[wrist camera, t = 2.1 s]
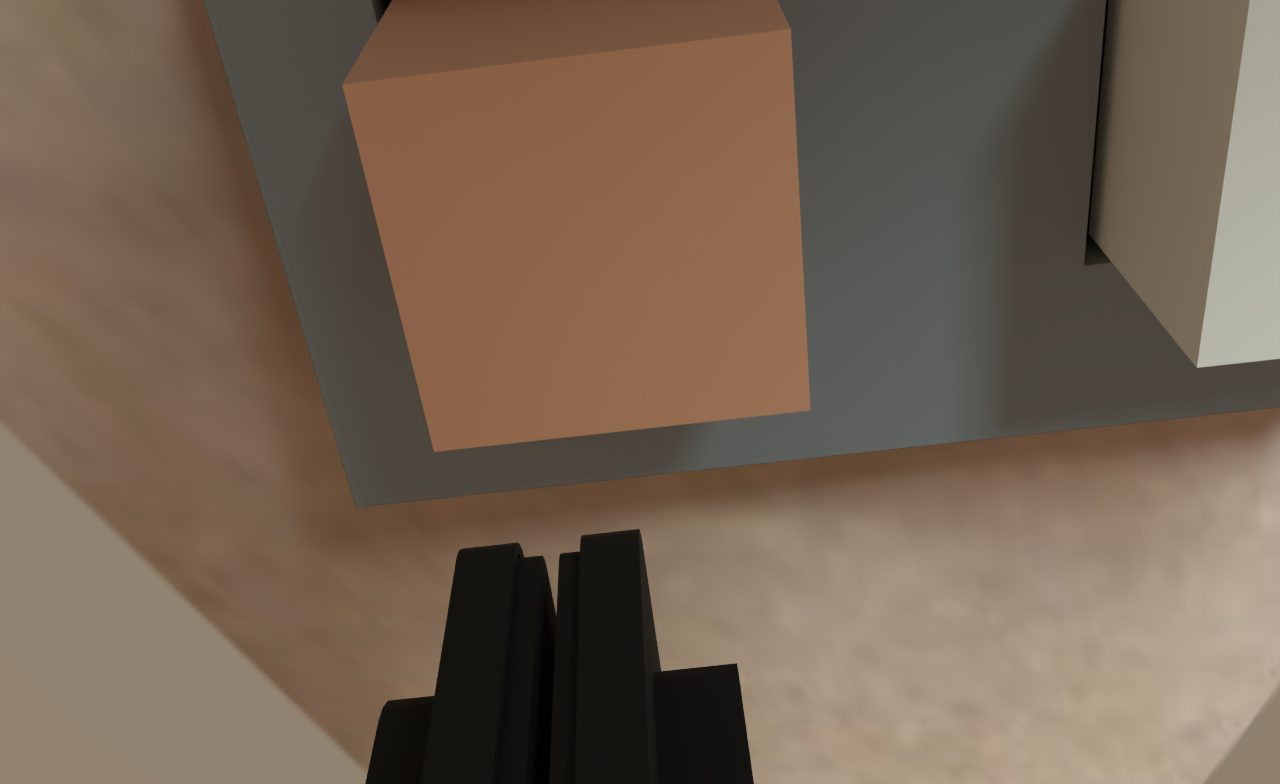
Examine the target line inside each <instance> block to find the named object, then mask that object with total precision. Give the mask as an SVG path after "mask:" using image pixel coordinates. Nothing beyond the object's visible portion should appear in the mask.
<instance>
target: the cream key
mask: <svg viewBox="0 0 1280 784" xmlns="http://www.w3.org/2000/svg"><path fill="white" fill-rule="evenodd" d="M1089 235H1090V236H1091V237H1092V238H1093V240H1094V241H1095V242H1096V243H1097V244H1098V246H1099V247H1100V248H1101V249H1102V251H1103V252H1104V253H1105V254H1106V256H1107V257H1108V258H1109V259H1110V261H1111V262H1112V263H1113V264H1114V266H1115V267H1116V268H1117V269H1118V271H1119V272H1120V273H1121V274H1122V276H1123V277H1124V278H1125V279H1126V281H1127V282H1128V283H1129V284H1130V286H1131V287H1132V288H1133V289H1134V290H1135V292H1136V293H1137V294H1138V295H1139V297H1140V298H1141V299H1142V300H1143V302H1144V303H1145V304H1146V305H1147V307H1148V308H1149V309H1150V310H1151V312H1152V313H1153V314H1154V315H1155V317H1156V318H1157V319H1158V320H1159V322H1160V323H1161V324H1162V325H1163V327H1164V328H1165V329H1166V330H1167V332H1168V333H1169V334H1170V335H1171V336H1172V338H1173V339H1174V340H1175V341H1176V343H1177V344H1178V345H1179V346H1180V348H1181V349H1182V350H1183V351H1184V353H1185V354H1186V355H1187V356H1188V358H1189V359H1190V360H1191V361H1192V363H1193V364H1194V365H1195V366H1196V368H1200V367H1209V366H1218V365H1228V364H1237V363H1246V362H1255V361H1264V360H1273V359H1280V0H1108V12H1107V24H1106V36H1105V48H1104V60H1103V71H1102V83H1101V95H1100V107H1099V119H1098V131H1097V143H1096V154H1095V166H1094V178H1093V190H1092V202H1091V214H1090V226H1089Z"/></svg>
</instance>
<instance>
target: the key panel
mask: <svg viewBox="0 0 1280 784" xmlns="http://www.w3.org/2000/svg"><path fill="white" fill-rule="evenodd" d="M391 1H392V0H204V3H205V6H206V10H207V13H208V16H209V20H210V23H211V26H212V30H213V33H214V36H215V40H216V43H217V46H218V50H219V53H220V56H221V60H222V63H223V66H224V70H225V73H226V76H227V80H228V83H229V86H230V90H231V93H232V96H233V100H234V103H235V106H236V110H237V113H238V116H239V120H240V123H241V126H242V130H243V133H244V136H245V140H246V143H247V146H248V150H249V153H250V156H251V160H252V163H253V166H254V170H255V173H256V176H257V180H258V183H259V186H260V190H261V193H262V196H263V200H264V203H265V206H266V210H267V213H268V216H269V220H270V223H271V226H272V230H273V233H274V236H275V240H276V243H277V246H278V250H279V253H280V256H281V260H282V263H283V266H284V270H285V273H286V276H287V280H288V283H289V286H290V290H291V293H292V296H293V300H294V303H295V306H296V310H297V313H298V316H299V320H300V323H301V326H302V330H303V333H304V336H305V340H306V343H307V346H308V350H309V353H310V356H311V360H312V363H313V366H314V370H315V373H316V376H317V379H318V383H319V386H320V389H321V393H322V396H323V399H324V403H325V406H326V409H327V413H328V416H329V419H330V423H331V426H332V429H333V433H334V436H335V439H336V443H337V446H338V449H339V453H340V456H341V459H342V463H343V466H344V469H345V473H346V476H347V479H348V483H349V486H350V489H351V493H352V496H353V499H354V503H355V506H356V507H365V506H374V505H383V504H392V503H402V502H411V501H420V500H429V499H438V498H448V497H457V496H466V495H475V494H485V493H494V492H503V491H512V490H521V489H531V488H540V487H549V486H558V485H567V484H577V483H586V482H595V481H604V480H613V479H623V478H632V477H641V476H650V475H660V474H669V473H678V472H687V471H696V470H706V469H715V468H724V467H733V466H742V465H752V464H761V463H770V462H779V461H789V460H798V459H807V458H816V457H825V456H835V455H844V454H853V453H862V452H871V451H881V450H890V449H899V448H908V447H917V446H927V445H936V444H945V443H954V442H964V441H973V440H982V439H991V438H1000V437H1010V436H1019V435H1028V434H1037V433H1046V432H1056V431H1065V430H1074V429H1083V428H1092V427H1102V426H1111V425H1120V424H1129V423H1139V422H1148V421H1157V420H1166V419H1175V418H1185V417H1194V416H1203V415H1212V414H1221V413H1231V412H1240V411H1249V410H1258V409H1268V408H1277V407H1280V359H1273V360H1264V361H1255V362H1246V363H1237V364H1228V365H1218V366H1209V367H1200V368H1196V366H1195V365H1194V364H1193V363H1192V361H1191V360H1190V359H1189V358H1188V356H1187V355H1186V354H1185V353H1184V351H1183V350H1182V349H1181V348H1180V346H1179V345H1178V344H1177V343H1176V341H1175V340H1174V339H1173V338H1172V336H1171V335H1170V334H1169V333H1168V332H1167V330H1166V329H1165V328H1164V327H1163V325H1162V324H1161V323H1160V322H1159V320H1158V319H1157V318H1156V317H1155V315H1154V314H1153V313H1152V312H1151V310H1150V309H1149V308H1148V307H1147V305H1146V304H1145V303H1144V302H1143V300H1142V299H1141V298H1140V297H1139V295H1138V294H1137V293H1136V292H1135V290H1134V289H1133V288H1132V287H1131V286H1130V284H1129V283H1128V282H1127V281H1126V279H1125V278H1124V277H1123V276H1122V274H1121V273H1120V272H1119V271H1118V269H1117V268H1116V267H1115V266H1114V264H1113V263H1112V262H1111V261H1110V259H1109V258H1108V257H1107V256H1106V254H1105V253H1104V252H1103V251H1102V249H1101V248H1100V247H1099V246H1098V244H1097V243H1096V242H1095V241H1094V240H1093V238H1092V237H1091V236H1090V235H1089V226H1090V214H1091V202H1092V190H1093V178H1094V166H1095V154H1096V143H1097V131H1098V119H1099V107H1100V95H1101V83H1102V71H1103V60H1104V48H1105V36H1106V24H1107V12H1108V0H778V3H779V5H780V7H781V9H782V11H783V13H784V15H785V18H786V20H787V22H788V24H789V26H790V28H791V41H792V60H793V79H794V99H795V118H796V138H797V157H798V177H799V196H800V216H801V235H802V255H803V274H804V294H805V313H806V333H807V352H808V372H809V391H810V411H801V412H792V413H783V414H774V415H765V416H756V417H747V418H737V419H728V420H719V421H710V422H701V423H692V424H683V425H674V426H665V427H656V428H647V429H638V430H629V431H619V432H610V433H601V434H592V435H583V436H574V437H565V438H556V439H547V440H538V441H529V442H520V443H511V444H502V445H492V446H483V447H474V448H465V449H456V450H447V451H438V452H434V449H433V445H432V441H431V437H430V433H429V429H428V425H427V421H426V417H425V413H424V409H423V405H422V401H421V397H420V393H419V389H418V385H417V381H416V377H415V373H414V369H413V365H412V361H411V357H410V353H409V349H408V345H407V341H406V337H405V333H404V329H403V325H402V321H401V317H400V313H399V309H398V305H397V301H396V297H395V293H394V289H393V285H392V281H391V277H390V273H389V269H388V266H387V262H386V258H385V254H384V250H383V246H382V242H381V238H380V234H379V230H378V226H377V222H376V218H375V214H374V210H373V206H372V202H371V198H370V194H369V190H368V186H367V182H366V178H365V174H364V170H363V166H362V162H361V158H360V154H359V150H358V146H357V142H356V138H355V134H354V130H353V126H352V122H351V118H350V114H349V110H348V106H347V102H346V98H345V94H344V90H343V86H342V84H343V82H344V81H345V79H346V77H347V76H348V74H349V72H350V70H351V69H352V67H353V65H354V64H355V62H356V60H357V59H358V57H359V55H360V53H361V52H362V50H363V48H364V47H365V45H366V43H367V42H368V40H369V38H370V36H371V35H372V33H373V31H374V30H375V28H376V26H377V25H378V23H379V21H380V20H381V18H382V16H383V14H384V13H385V11H386V9H387V8H388V6H389V4H390V3H391Z"/></svg>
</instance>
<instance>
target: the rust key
mask: <svg viewBox="0 0 1280 784" xmlns="http://www.w3.org/2000/svg"><path fill="white" fill-rule="evenodd" d="M342 86H343V90H344V94H345V98H346V102H347V106H348V110H349V114H350V118H351V122H352V126H353V130H354V134H355V138H356V142H357V146H358V150H359V154H360V158H361V162H362V166H363V170H364V174H365V178H366V182H367V186H368V190H369V194H370V198H371V202H372V206H373V210H374V214H375V218H376V222H377V226H378V230H379V234H380V238H381V242H382V246H383V250H384V254H385V258H386V262H387V266H388V269H389V273H390V277H391V281H392V285H393V289H394V293H395V297H396V301H397V305H398V309H399V313H400V317H401V321H402V325H403V329H404V333H405V337H406V341H407V345H408V349H409V353H410V357H411V361H412V365H413V369H414V373H415V377H416V381H417V385H418V389H419V393H420V397H421V401H422V405H423V409H424V413H425V417H426V421H427V425H428V429H429V433H430V437H431V441H432V445H433V449H434V452H438V451H447V450H456V449H465V448H474V447H483V446H492V445H502V444H511V443H520V442H529V441H538V440H547V439H556V438H565V437H574V436H583V435H592V434H601V433H610V432H619V431H629V430H638V429H647V428H656V427H665V426H674V425H683V424H692V423H701V422H710V421H719V420H728V419H737V418H747V417H756V416H765V415H774V414H783V413H792V412H801V411H810V391H809V372H808V352H807V333H806V313H805V294H804V274H803V255H802V235H801V216H800V196H799V177H798V157H797V138H796V118H795V99H794V79H793V60H792V41H791V28H790V26H789V24H788V22H787V20H786V18H785V15H784V13H783V11H782V9H781V7H780V5H779V3H778V0H392V1H391V3H390V4H389V6H388V8H387V9H386V11H385V13H384V14H383V16H382V18H381V20H380V21H379V23H378V25H377V26H376V28H375V30H374V31H373V33H372V35H371V36H370V38H369V40H368V42H367V43H366V45H365V47H364V48H363V50H362V52H361V53H360V55H359V57H358V59H357V60H356V62H355V64H354V65H353V67H352V69H351V70H350V72H349V74H348V76H347V77H346V79H345V81H344V82H343V84H342Z"/></svg>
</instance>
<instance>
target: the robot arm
mask: <svg viewBox="0 0 1280 784" xmlns="http://www.w3.org/2000/svg"><path fill="white" fill-rule="evenodd" d="M366 784H754V782H753V775H752V768H751V761H750V753H749V746H748V739H747V732H746V724H745V717H744V710H743V703H742V695H741V688H740V681H739V674H738V668H737V663H736V664H727V665H718V666H708V667H699V668H690V669H680V670H671V671H662V672H661V667H660V660H659V653H658V647H657V640H656V633H655V626H654V619H653V612H652V606H651V599H650V592H649V585H648V578H647V572H646V565H645V558H644V551H643V544H642V538H641V533H640V530H639V529H636V530H627V531H618V532H609V533H600V534H591V535H582V537H581V543H580V552H571V553H562V554H560V558H559V575H558V597H557V617H556V612H555V607H554V602H553V597H552V592H551V587H550V582H549V577H548V572H547V567H546V563H545V560H544V557H543V556H535V557H526V558H524V555H523V551H522V548H521V546H520V544H519V543H510V544H501V545H493V546H484V547H475V548H466V549H460V551H459V552H458V555H457V559H456V565H455V571H454V578H453V584H452V590H451V596H450V603H449V609H448V615H447V621H446V628H445V634H444V640H443V646H442V653H441V659H440V665H439V671H438V677H437V684H436V690H435V696H429V697H419V698H410V699H401V700H391V701H387V703H386V704H385V706H384V707H383V709H382V712H381V715H380V719H379V722H378V726H377V731H376V736H375V741H374V746H373V750H372V755H371V760H370V765H369V769H368V774H367V779H366Z"/></svg>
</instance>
